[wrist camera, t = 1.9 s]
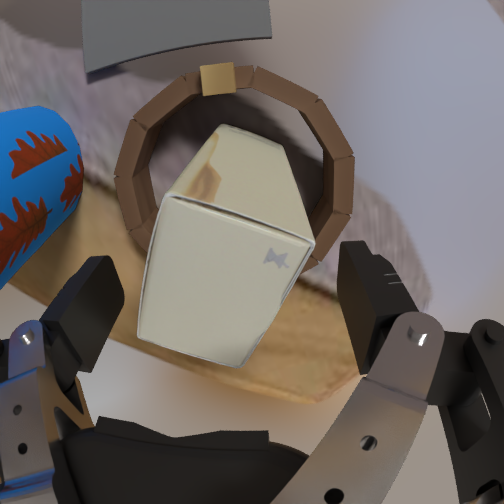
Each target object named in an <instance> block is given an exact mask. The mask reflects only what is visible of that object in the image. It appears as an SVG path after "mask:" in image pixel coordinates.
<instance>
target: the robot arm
mask: <svg viewBox="0 0 504 504" xmlns="http://www.w3.org/2000/svg"><path fill="white" fill-rule="evenodd" d="M337 294H338V299H339V302H340V306H341V309H342V312H343V316H344V319H345V322H346V326H347V329H348V333H349V336H350V340H351V343H352V347H353V350H354V354H355V358H356V361H357V365H358V369H359V373H360V375H363V374H367V376H366V377H363V378H362V379H361V380H360V382H359V383H358V385H357V387H356V388H355V390H354V392H353V393H352V395H351V396H350V398H349V400H348V401H347V403H346V404H345V406H344V408H343V409H342V411H341V412H340V414H339V415H338V417H337V418H336V420H335V421H334V423H333V424H332V426H331V427H330V429H329V430H328V432H327V433H326V434H325V436H324V437H323V439H322V440H321V441H320V443H319V444H318V446H317V447H316V448H315V450H314V451H313V452H312V454H311V455H310V456H309V455H307V454H305V453H304V452H301V451H299V450H297V449H295V448H292V447H289V446H286V445H283V444H280V443H275V442H270V441H269V433H268V431H216V432H210V433H204V434H198V435H192V436H185V437H178V438H174V437H169V436H166V435H164V434H161V433H159V432H156V431H153V430H151V429H148V428H146V427H144V426H141V425H139V424H137V423H134V422H129V421H123V420H117V419H112V418H107V417H101V416H99V417H98V420H97V423H96V426H94V424H93V422H92V420H91V417H90V414H89V411H88V408H87V404H86V401H85V398H84V394H83V391H82V388H81V384H80V381H79V379H78V378H77V376H76V374H77V372H78V371H82V372H88V373H91V372H92V370H93V368H94V366H95V363H96V361H97V359H98V357H99V355H100V353H101V350H102V348H103V346H104V344H105V342H106V340H107V338H108V336H109V334H110V332H111V329H112V327H113V325H114V323H115V321H116V319H117V317H118V315H119V313H120V311H121V309H122V307H123V305H124V290H123V288H122V285H121V282H120V280H119V277H118V274H117V272H116V269H115V266H114V263H113V261H112V259H111V257H110V256H107V255H106V256H91V257H89V258H88V259H87V260H86V262H85V263H84V264H83V265H82V267H81V268H80V269H79V270H78V272H77V273H76V274H74V275H73V276H72V277H71V278H69V280H68V281H67V282H66V284H65V285H64V286H63V289H61V290H60V292H59V293H58V294H57V296H56V297H55V298H54V300H53V301H52V302H51V304H50V305H49V307H48V308H47V309H46V311H45V312H44V314H43V315H42V317H41V318H40V319H39V321H37V320H30V321H27V322H24V323H22V324H21V325H20V326H18V328H16V329H15V331H14V332H13V333H12V335H11V337H10V339H5V340H1V339H0V504H381V503H382V501H383V500H384V498H385V497H386V495H387V493H388V491H389V490H390V488H391V486H392V484H393V482H394V481H395V479H396V477H397V475H398V473H399V471H400V469H401V467H402V465H403V463H404V461H405V459H406V457H407V455H408V453H409V451H410V448H411V446H412V444H413V442H414V439H415V437H416V434H417V433H418V430H419V428H420V425H421V423H422V420H423V418H424V415H425V412H426V409H427V406H428V405H437V406H438V409H439V412H440V416H441V419H442V423H443V427H444V431H445V435H446V438H447V442H448V447H449V451H450V455H451V460H452V464H453V469H454V474H455V479H456V485H457V491H458V497H459V503H460V504H504V326H503V325H501V324H500V323H498V322H496V321H494V320H490V319H482V320H479V321H477V322H476V323H475V324H474V325H473V327H472V329H471V331H470V333H469V334H468V333H458V332H448V331H444V330H443V327H442V325H441V324H440V323H439V322H438V321H437V320H436V319H435V318H434V317H432V316H430V315H428V314H426V313H422V312H419V311H418V309H417V307H416V305H415V303H414V302H413V300H412V298H411V296H410V294H409V293H408V291H407V289H406V288H405V286H404V284H403V283H402V281H401V279H400V277H399V276H398V275H397V272H396V271H395V269H394V268H393V266H392V264H391V263H390V262H389V261H388V260H386V259H385V258H384V257H382V256H381V255H380V254H378V255H372V253H371V251H370V250H369V248H368V246H367V245H366V243H365V241H363V240H362V241H344V242H341V244H340V252H339V264H338V275H337ZM481 393H482V394H483V397H484V399H485V402H486V404H487V407H488V410H489V413H490V417H491V420H490V417H489V414H488V411H487V408H486V405H485V403H484V400H483V398H482V395H481ZM4 480H5V481H4Z"/></svg>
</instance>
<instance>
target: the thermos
mask: <svg viewBox="0 0 504 504" xmlns="http://www.w3.org/2000/svg"><path fill="white" fill-rule="evenodd" d="M83 172H84V167H83V162H82V157H81V152H80V147H79V144H78V142H77V140H76V138H75V136H74V134H73V132H72V130H71V128H70V126H69V125H68V124H67V123H66V122H65V121H64V120H63V119H62V118H61V117H60V116H59V115H58V114H57V113H56V112H55V111H53V110H50V109H47V108H44V107H41V106H34V107H28V108H22V109H16V110H11V111H6V112H2V113H0V290H1V289H2V288H3V286H4V285H5V284H6V283H7V282H8V281H9V280H10V278H11V277H12V276H13V275H14V274H15V273H16V272H17V271H18V270H19V269H20V267H21V266H22V265H23V264H24V263H25V262H26V261H27V260H28V259H29V258H30V257H31V256H32V255H33V254H34V253H35V252H36V251H37V250H38V249H39V248H40V247H41V246H42V245H43V243H44V242H45V241H46V240H47V239H48V238H49V237H50V236H51V234H52V233H53V232H54V231H55V230H56V229H57V228H58V227H59V226H60V225H61V224H62V223H63V222H64V221H65V219H66V218H67V217H68V216H69V215H70V214H71V213H72V212H73V211H74V210H75V208H76V206H77V203H78V200H79V198H80V195H81V193H82V187H83Z"/></svg>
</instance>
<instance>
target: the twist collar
mask: <svg viewBox="0 0 504 504" xmlns="http://www.w3.org/2000/svg"><path fill="white" fill-rule="evenodd" d="M243 88H253V89H256V90H258V91H260V92H262V93H265V94H267V95H269V96H271V97H273V98H275V99H278V100H279V101H282V102H284V103H286V104H288V105H290V106H292V107H294V108H296V109H297V110H298V111H299V112H300V114H301V116H302V117H303V119H304V120H305V122H306V123H307V125H308V126H309V128H310V129H311V131H312V133H313V134H314V136H315V137H316V139H317V141H318V142H319V144H320V145H321V147H322V149H323V195H322V197H321V199H320V200H319V202H318V204H317V205H316V207H315V209H314V210H313V212H312V213H311V215H310V217H309V218H308V221H309V224H310V227H311V230H312V233H313V236H314V239H315V247H314V250H313V251H312V253H311V254H310V256H309V258H308V259H307V261H306V263H305V265H304V267H303V269H302V270H301V272H300V274H302V273H303V272H305V271H307V270H309V269H311V268H313V267H314V266H316V265H318V261H322V260H323V259H324V257H325V256H326V254H327V253H328V251H329V250H330V248H331V247H332V245H333V244H334V242H335V241H336V239H337V238H338V236H339V235H340V233H341V232H342V230H343V229H344V227H345V226H346V224H347V223H348V221H349V220H350V218H351V217H350V215H349V214H352V208H353V190H354V164H355V163H354V162H355V157H354V156H352V155H351V154H353V151H352V149H351V147H350V146H349V144H348V142H347V140H346V139H345V137H344V135H343V133H342V131H341V130H340V128H339V126H338V125H337V123H336V121H335V120H334V118H333V117H332V115H331V113H330V112H329V110H328V108H327V107H326V105H325V103H324V102H323V100H322V99H318V96H317V95H315V94H314V93H312V92H310V91H308V90H306V89H304V88H302V87H300V86H298V85H296V84H294V83H292V82H290V81H288V80H286V79H284V78H282V77H280V76H278V75H276V74H274V73H271V72H269V71H267V70H265V69H263V68H260V67H257V68H256V71H255V72H254V70H253V66H240V67H234V63H233V62H231V63H221V64H213V65H206V66H200V71H199V72H193V73H187V74H185V76H180V77H179V78H177V79H176V80H175V81H173V82H172V83H171V84H170V85H168V86H167V87H166V88H165V89H164V90H162V91H161V92H160V93H159V94H158V95H156V96H155V97H154V98H153V99H152V100H150V101H149V102H148V103H147V104H146V105H145V106H144V107H142V108H141V109H140V110H139V111H138V112H137V113H136V114H135V115H134V116H133V117H134V119H131V120H130V123H129V126H128V129H127V132H126V135H125V138H124V141H123V144H122V147H121V151H120V154H119V157H118V161H117V164H116V168H115V172H114V175H116V177H115V178H114V182H115V186H116V190H117V194H118V198H119V202H120V206H121V210H122V214H123V217H124V221H125V225H126V228H127V230H131V231H130V232H129V234H130V235H131V236H132V237H133V238H134V240H135V241H136V242H137V243H138V244H139V245H140V246H141V247H142V248H143V249H144V250H145V252H146V253H147V254H148V249H149V245H150V240H151V236H152V232H153V228H154V225H155V222H156V218H157V214H158V211H159V209H158V208H157V207H156V202H155V197H154V193H153V188H152V183H151V178H150V173H149V168H148V164H149V161H150V158H151V155H152V152H153V149H154V146H155V144H156V141H157V138H158V135H159V133H160V130H161V128H162V125H163V123H164V122H165V121H166V120H167V119H169V118H170V117H171V116H172V115H174V114H175V113H176V112H177V111H179V110H180V109H181V108H182V107H184V106H185V105H186V104H188V103H189V102H190V101H192V100H193V99H194V98H196V97H197V96H198V95H200V94H201V93H203V96H208V95H216V94H224V93H234V92H236V89H243ZM317 260H318V261H317ZM300 274H299V275H300Z"/></svg>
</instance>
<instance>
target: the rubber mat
mask: <svg viewBox="0 0 504 504" xmlns="http://www.w3.org/2000/svg"><path fill="white" fill-rule="evenodd" d="M81 9H82V10H81V11H82V37H83V52H84V63H85V73H93V72H96V71H99V70H102V69H105V68H108V67H111V66H114V65H118V64H121V63H124V62H128V61H131V60H135V59H139V58H143V57H146V56H151V55H155V54H159V53H163V52H168V51H173V50H178V49H183V48H189V47H195V46H201V45H208V44H215V43H223V42H232V41H243V40H255V39H271V38H272V29H271V19H270V9H269V1H268V0H81Z"/></svg>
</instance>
